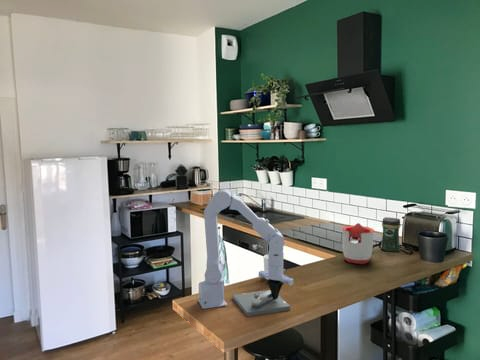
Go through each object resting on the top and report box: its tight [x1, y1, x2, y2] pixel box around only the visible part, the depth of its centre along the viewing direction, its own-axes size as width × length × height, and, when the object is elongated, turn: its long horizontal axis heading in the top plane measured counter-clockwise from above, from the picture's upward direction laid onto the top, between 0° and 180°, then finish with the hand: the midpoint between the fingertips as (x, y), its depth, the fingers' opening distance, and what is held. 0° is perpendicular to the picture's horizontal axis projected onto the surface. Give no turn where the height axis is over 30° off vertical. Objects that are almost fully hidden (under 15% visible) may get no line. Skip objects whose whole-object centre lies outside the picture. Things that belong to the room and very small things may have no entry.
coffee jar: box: [380, 216, 401, 253], centre depth 222 cm, size 10×8×19 cm
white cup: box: [263, 253, 269, 281], centre depth 177 cm, size 8×8×10 cm
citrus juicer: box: [341, 222, 375, 265], centre depth 201 cm, size 16×17×20 cm
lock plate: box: [232, 289, 291, 317], centre depth 149 cm, size 17×16×6 cm
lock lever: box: [252, 289, 273, 308], centre depth 147 cm, size 12×4×3 cm, turn 139°
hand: (275, 298), depth 149 cm, fingers closed
